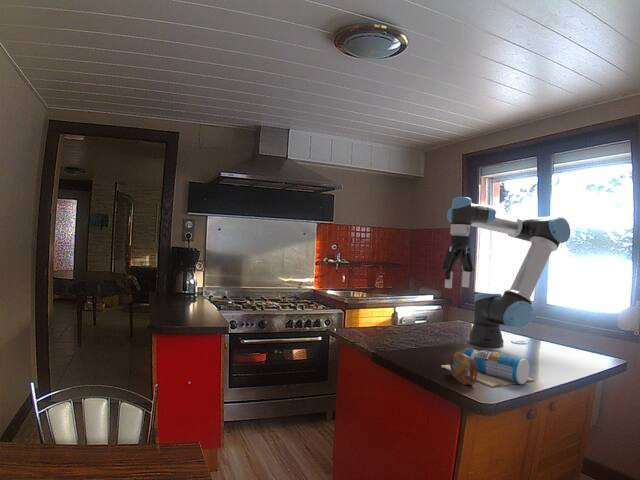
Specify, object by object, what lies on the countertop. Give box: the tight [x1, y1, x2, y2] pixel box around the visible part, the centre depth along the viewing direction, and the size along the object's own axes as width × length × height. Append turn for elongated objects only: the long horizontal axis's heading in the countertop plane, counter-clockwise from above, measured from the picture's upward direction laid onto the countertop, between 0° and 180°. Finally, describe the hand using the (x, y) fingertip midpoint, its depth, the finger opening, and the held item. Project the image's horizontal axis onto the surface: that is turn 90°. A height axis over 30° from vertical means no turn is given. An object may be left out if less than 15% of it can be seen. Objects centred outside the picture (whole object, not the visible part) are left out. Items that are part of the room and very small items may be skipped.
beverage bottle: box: [463, 347, 530, 385], centre depth 143 cm, size 8×8×20 cm
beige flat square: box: [440, 364, 535, 388], centre depth 145 cm, size 20×22×1 cm
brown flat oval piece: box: [449, 351, 477, 386], centre depth 136 cm, size 15×3×8 cm, turn 5°
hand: (457, 287), depth 172 cm, fingers open, 13 cm apart
